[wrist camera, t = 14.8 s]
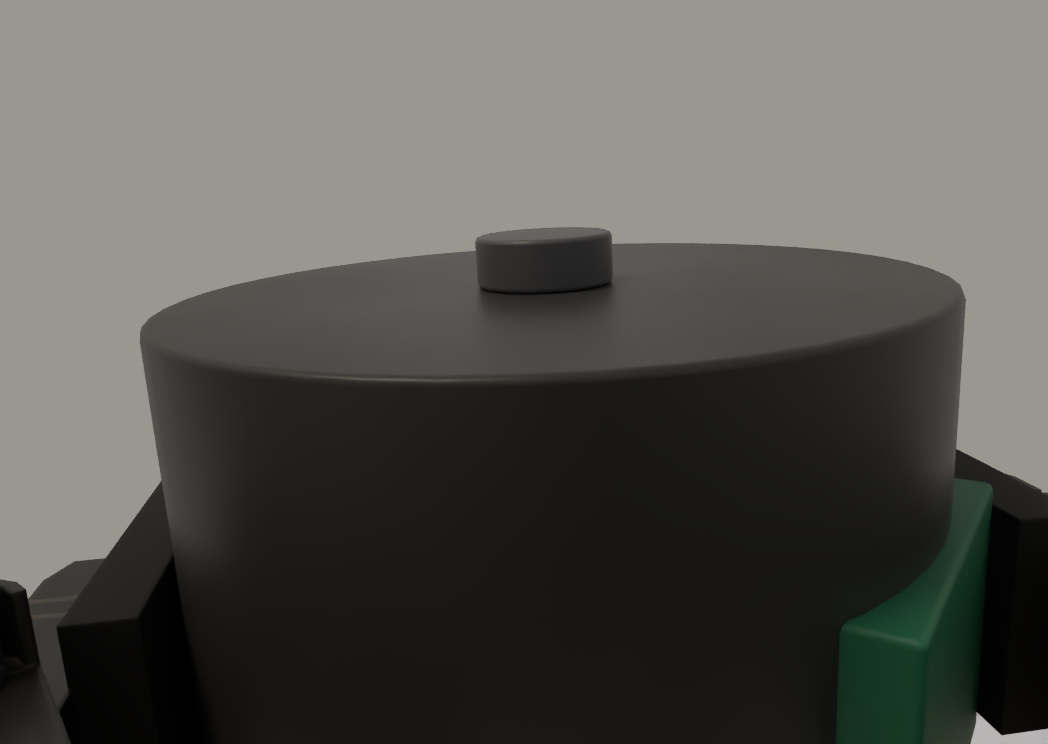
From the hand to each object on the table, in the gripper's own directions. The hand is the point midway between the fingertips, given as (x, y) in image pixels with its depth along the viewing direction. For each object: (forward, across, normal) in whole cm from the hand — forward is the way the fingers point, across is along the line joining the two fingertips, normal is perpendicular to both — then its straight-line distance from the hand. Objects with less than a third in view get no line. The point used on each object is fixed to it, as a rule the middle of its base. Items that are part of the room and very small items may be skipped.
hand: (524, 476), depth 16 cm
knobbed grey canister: (-4, 0, -6) cm, 8 cm away
